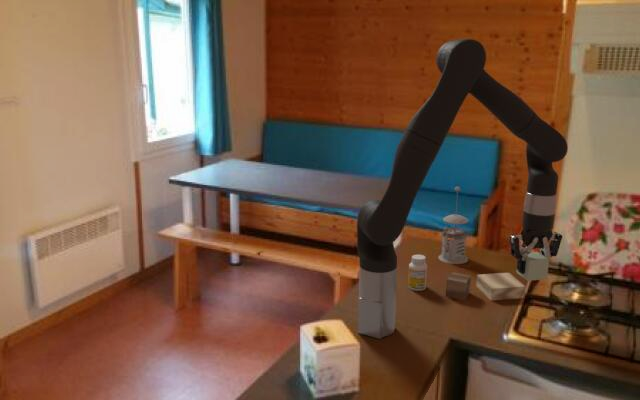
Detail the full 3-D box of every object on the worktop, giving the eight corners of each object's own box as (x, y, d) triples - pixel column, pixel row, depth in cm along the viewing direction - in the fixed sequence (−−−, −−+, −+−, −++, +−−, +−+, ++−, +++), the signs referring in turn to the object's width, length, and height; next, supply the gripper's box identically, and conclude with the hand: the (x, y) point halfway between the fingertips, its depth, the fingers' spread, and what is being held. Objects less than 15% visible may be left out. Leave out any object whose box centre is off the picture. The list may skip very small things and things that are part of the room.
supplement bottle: (413, 282, 173) (415, 252, 170) (429, 286, 170) (431, 256, 167) (404, 287, 169) (405, 257, 166) (420, 292, 166) (422, 261, 163)
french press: (473, 258, 192) (478, 186, 185) (455, 268, 183) (460, 193, 177) (447, 251, 198) (452, 181, 191) (429, 260, 190) (433, 187, 183)
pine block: (490, 301, 161) (491, 288, 160) (476, 287, 170) (477, 274, 169) (523, 299, 162) (525, 286, 161) (507, 284, 172) (508, 272, 171)
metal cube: (464, 300, 161) (465, 282, 159) (445, 296, 163) (446, 278, 162) (469, 293, 165) (471, 276, 164) (451, 289, 168) (452, 272, 166)
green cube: (527, 280, 146) (529, 260, 144) (516, 272, 151) (518, 253, 150) (546, 279, 147) (549, 259, 145) (534, 271, 152) (537, 251, 151)
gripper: (521, 215, 139) (514, 279, 144) (573, 212, 142) (565, 275, 147) (505, 207, 146) (499, 268, 151) (555, 204, 149) (548, 264, 154)
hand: (531, 271), depth 149 cm, fingers closed on green cube, 5 cm apart
